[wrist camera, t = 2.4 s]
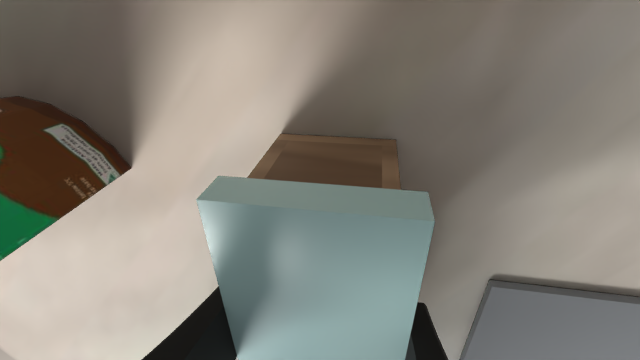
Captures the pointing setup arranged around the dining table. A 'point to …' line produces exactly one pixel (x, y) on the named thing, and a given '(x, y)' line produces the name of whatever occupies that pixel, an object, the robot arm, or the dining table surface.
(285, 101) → the dining table surface
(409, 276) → the lid
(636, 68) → the dining table surface
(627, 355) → the coaster
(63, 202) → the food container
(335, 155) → the box
